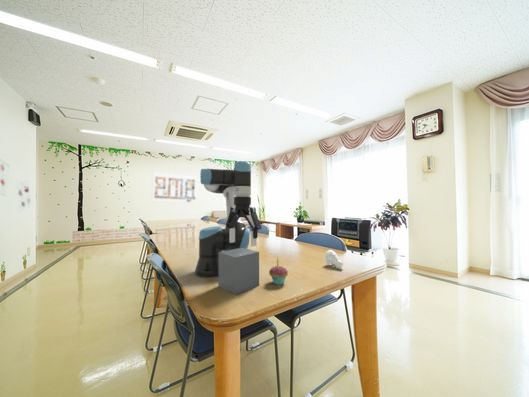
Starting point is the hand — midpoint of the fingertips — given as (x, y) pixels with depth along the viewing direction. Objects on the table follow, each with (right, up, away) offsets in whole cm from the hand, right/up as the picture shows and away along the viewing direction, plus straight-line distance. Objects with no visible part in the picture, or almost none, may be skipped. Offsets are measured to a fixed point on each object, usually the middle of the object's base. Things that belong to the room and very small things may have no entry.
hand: (242, 244), depth 90 cm
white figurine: (+49, -19, +25) cm, 58 cm away
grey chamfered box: (-1, -18, -2) cm, 18 cm away
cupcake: (+16, -18, +2) cm, 24 cm away
